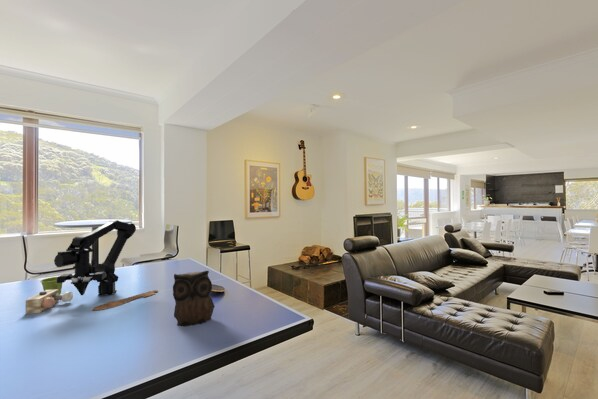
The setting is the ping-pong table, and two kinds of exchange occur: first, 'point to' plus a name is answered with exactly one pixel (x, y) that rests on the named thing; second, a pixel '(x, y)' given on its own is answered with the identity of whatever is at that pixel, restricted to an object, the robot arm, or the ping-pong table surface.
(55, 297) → the knob
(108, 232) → the robot arm
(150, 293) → the paddle
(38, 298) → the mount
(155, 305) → the ping-pong table surface
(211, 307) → the owl
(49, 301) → the knob
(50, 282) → the plant pot
